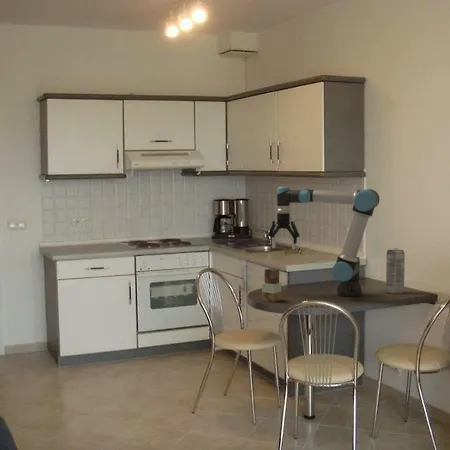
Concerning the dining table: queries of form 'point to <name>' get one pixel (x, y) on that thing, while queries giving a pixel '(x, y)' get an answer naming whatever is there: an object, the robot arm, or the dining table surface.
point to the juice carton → (395, 271)
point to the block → (271, 276)
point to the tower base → (271, 296)
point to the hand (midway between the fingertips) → (283, 248)
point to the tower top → (271, 288)
